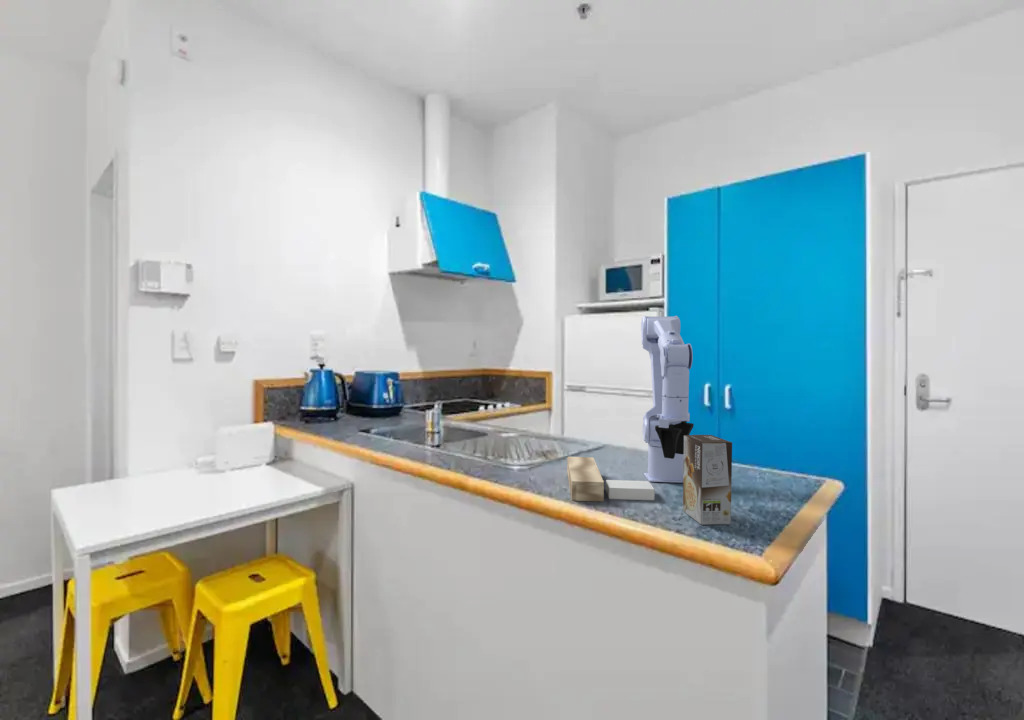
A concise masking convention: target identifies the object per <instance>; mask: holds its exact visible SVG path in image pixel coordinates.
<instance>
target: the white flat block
mask: <svg viewBox="0 0 1024 720" xmlns="http://www.w3.org/2000/svg"><path fill="white" fill-rule="evenodd" d="M655 490H656V489H655V488H654V487H653V485H652V484H651V482H650V481H649V480H627V479H626V480H622V479H621V480H620V479H619V480H618V479H606V480H605V492H606V495H607V497H608V499H609V500H629V501H630V500H631V501H632V500H633V501H635V500H637V501H638V500H639V501H655V495H656V494H655V492H656V491H655Z"/></svg>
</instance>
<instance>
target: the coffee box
mask: <svg viewBox="0 0 1024 720" xmlns="http://www.w3.org/2000/svg"><path fill="white" fill-rule="evenodd" d="M732 469H733V442H732V441H729V440H727V439H724V438H722V437H721V438H720V437H718V436H715V435H713V434H689V435H684V468H683V483H682V512H684V513H685V514H687V515H688V516H689V517H690V518H692V519H693V520H695V521H696V522H697V523H699V525H703V526H704V525H710V526H711V525H731V523H732V518H731V517H732V480H733V479H732V477H733V475H732V473H733V472H732V471H733V470H732Z"/></svg>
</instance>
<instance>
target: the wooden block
mask: <svg viewBox="0 0 1024 720" xmlns="http://www.w3.org/2000/svg"><path fill="white" fill-rule="evenodd" d="M566 460H567V463H566V464H567V465H566V466H567V469H566V473H567V481H568V485H569V493H570V497H571V501H576V502H580V501H581V502H602V503H603V502H605V501H604V500H605V499H604V498H605V497H604V495H605V494H604V493H605V491H604V490H605V487H604V486H605V481H604V480H603V477H602V475H601V472H600V469H599V468H598V466H597V463H596V461H595V457H591V456H589V457H588V456H586V457H585V456H567V459H566Z"/></svg>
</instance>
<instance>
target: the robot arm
mask: <svg viewBox="0 0 1024 720" xmlns="http://www.w3.org/2000/svg"><path fill="white" fill-rule="evenodd" d="M640 332H641V333H640V334H641V335H640V336H641V338H640V339H641V346H642V349H643V350H645V351H647V352H648V354H649V359H650V368H651V369H650V371H651V372H650V373H651V386H652V387H651V388H652V391H651V392H652V406H653V407H652V408H649V410H647V411H646V412H645V413H644V415H643V418H642V420H643V422H642V440H643V441H644V443H647V446H648V451H647V452H648V453H647V472H644V473H643V476H645V478H646V479H647V481H649V483H676V484H677V483H678V484H679V483H681V484H683V468H684V435H691V433H692V430H693V428H694V427H695V426H694V423H691V422H690V418H691V417H690V415H691V414H690V412H689V393H690V390H689V389H690V388H689V384H690V370H691V368H692V365H693V359H694V357H693V356H694V355H693V346H692V344H691V343H686V344H685V342H684V340H683V338H682V336H681V334H680V333H681V320H680V317H678V315H674V316H651V315H650V316H647V315H643V317H642V318H641V322H640Z"/></svg>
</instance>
